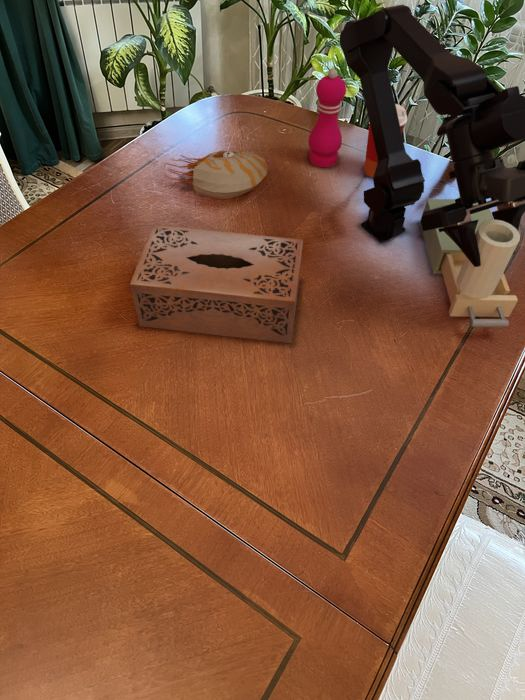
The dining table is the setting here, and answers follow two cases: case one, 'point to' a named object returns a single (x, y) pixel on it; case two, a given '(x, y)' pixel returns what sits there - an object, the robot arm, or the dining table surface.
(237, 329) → the tissue box cover
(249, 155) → the nautilus
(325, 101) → the pepper mill
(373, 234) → the robot arm
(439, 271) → the cabinet
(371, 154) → the paper cup
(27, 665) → the dining table surface
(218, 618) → the dining table surface
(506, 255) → the jar
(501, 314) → the drawer
